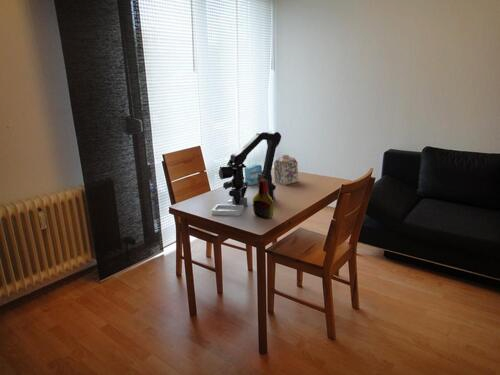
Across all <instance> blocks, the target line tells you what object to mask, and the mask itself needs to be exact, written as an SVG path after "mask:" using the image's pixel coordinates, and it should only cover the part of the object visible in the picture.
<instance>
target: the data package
mask: <svg viewBox="0 0 500 375" xmlns="http://www.w3.org/2000/svg"><path fill="white" fill-rule="evenodd" d="M262 171H263V167H262V164H257V163H256V164H255V163H254V164H252V165H247V166H246V167H245V168H244V181H247V182H248V186H253V185H257V184H258V180H257V179H258V174H259V173H260V174H261V173H262Z"/></svg>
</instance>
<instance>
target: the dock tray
mask: <svg viewBox="0 0 500 375" xmlns="http://www.w3.org/2000/svg"><path fill="white" fill-rule="evenodd" d="M244 208H245V206H244V205H233V204H216V205H215V206H214V207H213V208H212V209H211V214H212V215H218V216H236V217H237V216H239V217H240V216H241V214H242V213H243V211H244V210H245V209H244Z"/></svg>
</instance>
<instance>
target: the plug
mask: <svg viewBox="0 0 500 375" xmlns="http://www.w3.org/2000/svg"><path fill="white" fill-rule="evenodd" d="M227 204H231V205H236V202H235V200H234V198H233V197H232V198H231V199H228V200H227ZM239 205H244V207H247V206H248V197H245V196H244V197H241V199H240V203H239Z"/></svg>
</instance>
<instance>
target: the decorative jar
mask: <svg viewBox="0 0 500 375" xmlns="http://www.w3.org/2000/svg"><path fill="white" fill-rule="evenodd" d="M298 166H299V165H298V161H297V159H296V158H295V157H292V156H290V155H289V154H283V155H281V157H278V158H276V159H275V161H273V174H274V175H273V176H274V177H273V178H274V182H276V183H278V184H280V185H283V186H286V185H290V184H294V183H297V182H298V180H299V172H298V171H299V168H298Z"/></svg>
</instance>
